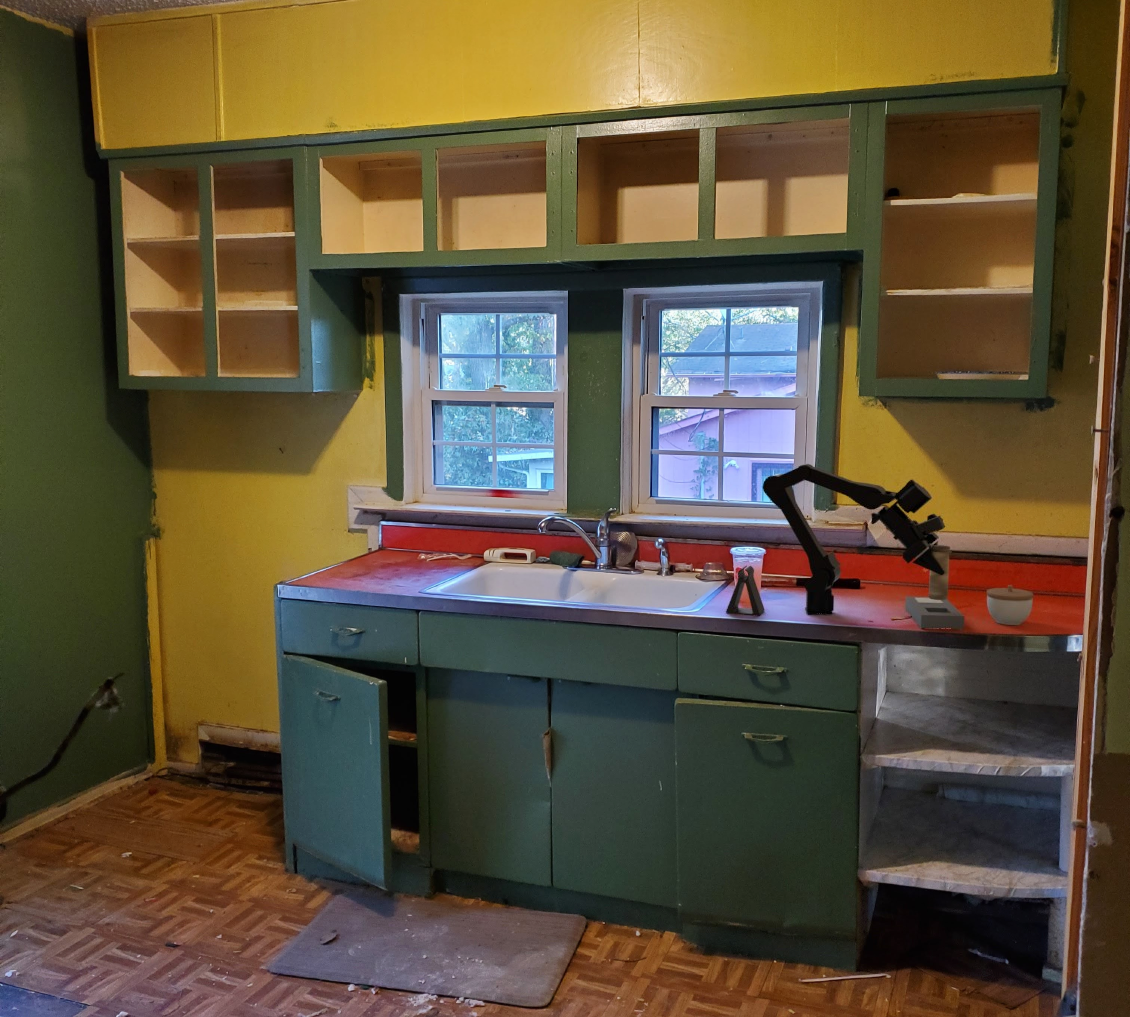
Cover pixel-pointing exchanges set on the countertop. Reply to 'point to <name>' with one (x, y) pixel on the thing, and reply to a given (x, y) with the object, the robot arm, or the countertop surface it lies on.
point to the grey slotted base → (934, 613)
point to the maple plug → (940, 582)
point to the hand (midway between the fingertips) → (945, 572)
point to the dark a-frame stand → (752, 592)
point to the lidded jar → (1009, 605)
